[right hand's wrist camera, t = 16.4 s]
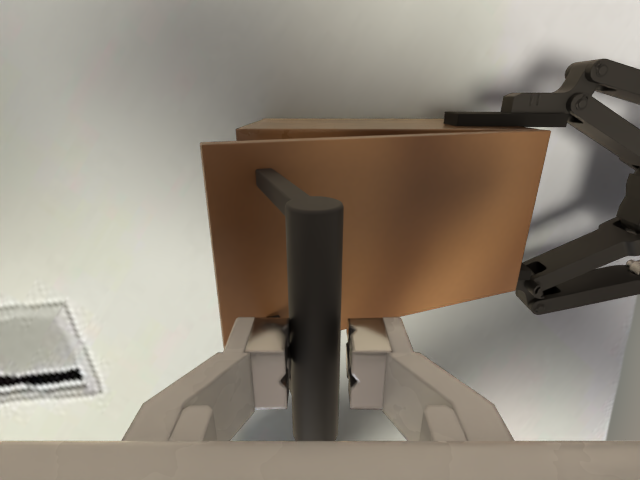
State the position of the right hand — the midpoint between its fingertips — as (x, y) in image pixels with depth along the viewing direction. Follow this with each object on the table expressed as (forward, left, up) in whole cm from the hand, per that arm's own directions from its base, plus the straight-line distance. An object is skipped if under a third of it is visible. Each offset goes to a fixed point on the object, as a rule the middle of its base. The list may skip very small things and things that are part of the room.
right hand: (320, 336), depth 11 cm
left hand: (+6, +6, -16) cm, 18 cm away
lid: (+2, +3, -9) cm, 10 cm away
